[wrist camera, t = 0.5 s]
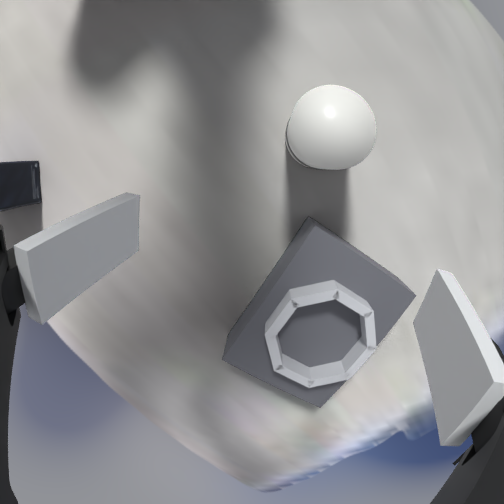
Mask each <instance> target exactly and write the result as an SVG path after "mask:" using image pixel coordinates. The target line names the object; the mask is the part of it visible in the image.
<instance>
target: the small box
mask: <svg viewBox="0 0 504 504" xmlns="http://www.w3.org/2000/svg"><path fill="white" fill-rule="evenodd" d="M36 203H41V194H40V180H39V162H38V161H17V162H0V211H4V210H8V209H13V208H16V207H21V206H27V205H31V204H36Z"/></svg>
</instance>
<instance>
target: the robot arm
mask: <svg viewBox="0 0 504 504" xmlns="http://www.w3.org/2000/svg"><path fill="white" fill-rule="evenodd" d="M139 207H140V195H136V194H131V193H124V194H122V195H119V196H117V197H114V198H112V199H110V200H107V201H105V202H103V203H100V204H98V205H96V206H94V207H91V208H89V209H87V210H85V211H82V212H80V213H78V214H76V215H74V216H72V217H69V218H67V219H65V220H63V221H61V222H59V223H57V224H55V225H53V226H50V227H48V228H46V229H44V230H42V231H40V232H38V233H36V234H34V235H32V236H30V237H29V238H27V239H25V240H23V241H21V242H19V243H17V244H15V245H13V246H14V247H13V248H12V249H10V250H8V251H7V250H6V244H5V238H4V231H3V226H2V225H0V504H18V501H17V499H16V497H15V496H14V493H13V491H12V489H11V486H10V482H9V469H8V412H9V396H10V385H11V375H12V367H13V359H14V352H15V345H16V339H17V333H18V328H19V322H20V318H21V314H20V309H19V307H20V306H21V305H22V304H24V303H25V305H26V309H27V312H28V316H29V317H30V318H32V319H33V320H35V321H36V322H38V323H40V324H44V323H45V322H46V321H47V320H49V319H50V318H51V317H52V316H54V315H55V314H56V313H57V312H58V311H60V310H61V309H62V308H63V307H65V306H66V305H67V304H69V303H70V302H71V301H72V300H74V299H75V298H76V297H77V296H79V295H80V294H81V293H83V292H84V291H85V290H86V289H88V288H89V287H90V286H92V285H93V284H94V283H96V282H97V281H98V280H99V279H101V278H102V277H103V276H105V275H106V274H107V273H109V272H110V271H111V270H113V269H114V268H115V267H117V266H118V265H120V264H121V263H122V262H124V261H125V260H126V259H128V258H129V257H130V256H132V255H133V254H135V253H136V252H137V251H139ZM413 325H414V328H415V332H416V335H417V339H418V343H419V346H420V350H421V354H422V358H423V362H424V366H425V370H426V374H427V378H428V382H429V387H430V391H431V396H432V401H433V405H434V410H435V416H436V421H437V427H438V432H439V438H440V445H443V446H460V445H461V444H462V443H463V442H464V441H465V440H466V439H467V438H468V437H469V436H470V434H471V435H472V439H473V444H472V445H471V446H470V447H469V448H468V449H467V450H466V451H465V452H464V453H463V454H462V455H461V456H460V457H459V458H458V459H457V460H456V461H455V462H454V463H453V464H454V465H456V464H457V463H458V462H459V463H458V465H457V466H456V468H455V469H454V471H453V473H452V474H451V475H450V477H449V478H448V480H447V481H446V483H445V484H444V485H443V487H442V488H441V490H440V491H439V492H438V494H437V495H436V496H435V498H434V499H433V501H432V502H431V503H430V504H504V355H503V354H502V352H501V350H500V348H499V346H498V345H497V344H496V343H495V342H494V341H493V340H492V339H491V338H490V336H489V334H488V332H487V331H486V329H485V327H484V325H483V323H482V322H481V320H480V318H479V316H478V315H477V313H476V311H475V309H474V308H473V306H472V304H471V303H470V301H469V299H468V298H467V296H466V294H465V293H464V291H463V290H462V288H461V286H460V285H459V283H458V282H457V280H456V279H455V277H454V275H453V274H452V273H451V272H447V271H444V270H440V269H437V270H436V272H435V275H434V277H433V279H432V282H431V284H430V287H429V289H428V291H427V293H426V296H425V298H424V300H423V302H422V305H421V307H420V309H419V311H418V313H417V315H416V317H415V319H414V322H413Z"/></svg>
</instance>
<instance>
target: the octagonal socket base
mask: <svg viewBox="0 0 504 504" xmlns="http://www.w3.org/2000/svg"><path fill="white" fill-rule="evenodd" d="M415 297H416V295H415V294H414V293H413V292H412V291H411V290H410V289H409V288H408V287H407V286H406V285H405V284H404V283H403V282H402V281H401V280H400V279H399V278H398V277H396V276H395V275H394V274H392V273H391V272H389V271H388V270H387V269H385V268H384V267H382V266H381V265H380V264H378V263H377V262H375V261H374V260H372V259H371V258H370V257H368V256H367V255H365V254H364V253H362V252H361V251H360V250H358V249H357V248H355V247H354V246H352V245H351V244H349V243H348V242H346V241H345V240H343V239H342V238H340V237H339V236H338V235H336V234H335V233H333V232H332V231H330V230H329V229H327V228H326V227H324V226H323V225H321V224H319V223H318V222H316V221H315V220H313V219H312V218H310V217H309V216H308V217H307V219H306V220H305V222H304V223H303V225H302V226H301V228H300V229H299V231H298V232H297V234H296V235H295V237H294V238H293V240H292V241H291V243H290V244H289V246H288V247H287V249H286V250H285V252H284V253H283V255H282V256H281V258H280V259H279V261H278V262H277V264H276V265H275V267H274V268H273V270H272V271H271V273H270V274H269V276H268V277H267V279H266V280H265V282H264V283H263V285H262V286H261V288H260V289H259V291H258V292H257V293H256V295H255V296H254V298H253V299H252V301H251V302H250V304H249V305H248V307H247V308H246V310H245V311H244V312H243V314H242V315H241V317H240V318H239V320H238V321H237V323H236V324H235V325H234V327H233V328H232V330H231V331H230V333H229V334H228V338H227V342H226V346H225V350H224V353H223V357H222V360H224V361H225V362H227V363H229V364H231V365H233V366H235V367H237V368H239V369H240V370H242V371H244V372H246V373H248V374H250V375H252V376H254V377H256V378H258V379H260V380H262V381H264V382H266V383H268V384H270V385H272V386H274V387H276V388H278V389H280V390H283V391H285V392H287V393H289V394H291V395H293V396H295V397H297V398H300V399H302V400H304V401H306V402H309V403H311V404H313V405H315V406H318V407H321V406H322V405H323V404H324V403H325V402H326V401H327V400H328V399H329V398H330V397H331V396H332V395H333V394H334V393H335V392H336V391H337V390H338V389H339V388H340V387H341V386H342V385H343V384H344V383H345V382H346V380H348V379H350V378H351V377H352V376H353V375H354V374H355V373H356V372H357V370H358V369H359V368H360V367H361V366H362V365H363V364H364V363H365V361H366V360H367V359H368V358H369V357H370V356H371V354H372V353H373V352H374V351H375V350H376V346H377V345H378V344H379V343H380V342H381V340H382V339H383V338H384V337H385V336H386V334H387V333H388V332H389V331H390V329H391V328H392V327H393V326H394V324H395V323H396V322H397V321H398V319H399V318H400V317H401V315H402V314H403V313H404V311H405V310H406V309H407V307H408V306H409V305H410V303H411V302H412V301H413V299H414V298H415Z"/></svg>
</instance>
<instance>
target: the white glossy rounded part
mask: <svg viewBox="0 0 504 504" xmlns="http://www.w3.org/2000/svg"><path fill="white" fill-rule="evenodd" d="M376 134H377V126H376V120H375V117H374V114H373V112H372V110H371V108H370V106H369V105H368V104H367V102H366V101H365V100H364V99H363V98H362V97H361V96H360V95H358V94H357V93H356V92H354V91H352V90H350V89H348V88H346V87H343V86H338V85H323V86H319V87H316V88H313V89H311V90H310V91H308V92H307V93H305V94H304V95H303V96H302V97H301V98H300V99H299V101H298V102H297V104H296V105H295V107H294V110H293V112H292V115H291V117H290V119H289V122H288V124H287V128H286V132H285V142H286V146H287V149H288V151H289V153H290V154H291V156H292V157H293V158H294V159H295V160H296V161H297V162H298V163H300V164H301V165H303V166H306V167H308V168H313V169H321V170H326V169H331V170H341V169H347V168H351V167H353V166H355V165H357V164H359V163H360V162H362V161H363V160H364V159H365V158H366V157H367V156H368V155H369V153H370V152H371V150H372V148H373V146H374V143H375V140H376Z"/></svg>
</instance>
